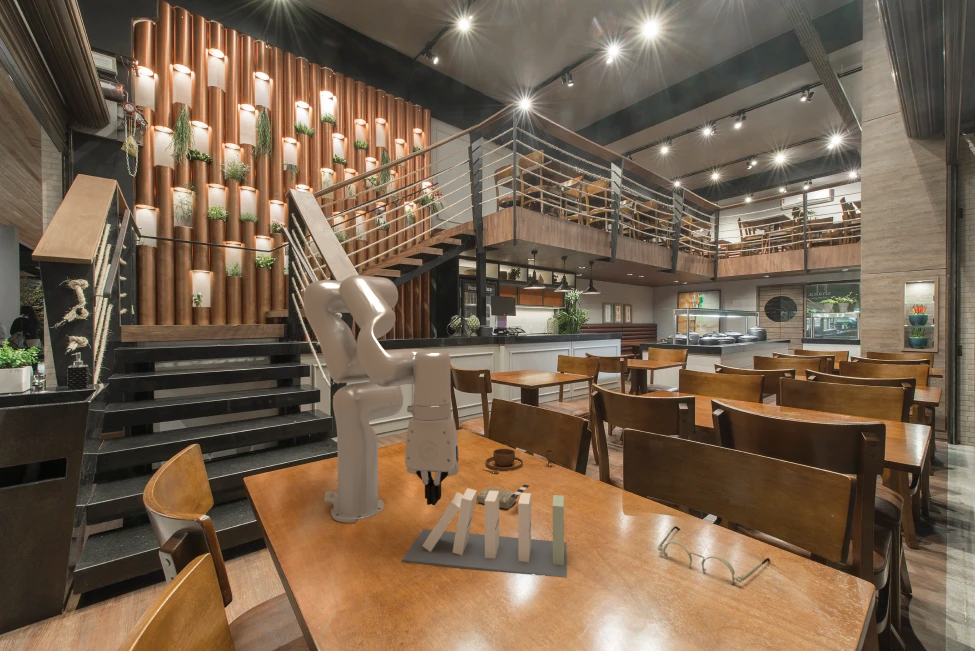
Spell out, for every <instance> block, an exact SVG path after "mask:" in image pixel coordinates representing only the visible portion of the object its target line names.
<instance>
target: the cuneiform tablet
mask: <svg viewBox="0 0 975 651" xmlns="http://www.w3.org/2000/svg"><path fill="white" fill-rule="evenodd" d="M529 487H530V485H529V484H523V485H522V486H520V487H519V489H517V490H516V491H513V490H512V491H511V490H508V489H501V488H498V487H497V488H495V487H492V486H487V487H486V488H485V489H484V490H481V491H480V492H479V493H478V494H476V502H477V503H480V504H483V505H485V499H486V497H487V494H488V492H489V491H499V509H500V508H502V509H505V510H507V509H510V508H511V507H512V506H513V505H514V504H515V503H516V500H517V499H518V497H520V495H521V493H524V492H525V490H527V489H528V488H529Z"/></svg>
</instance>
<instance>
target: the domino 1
mask: <svg viewBox="0 0 975 651" xmlns="http://www.w3.org/2000/svg"><path fill="white" fill-rule="evenodd" d="M463 495H464V494H462V493H460V492H459V491H457V492H456V493H455V495H454V496H453V498H452V500H451V501H450V503H449V504H448V506H447V507H446V509H445V511H444V512H443V513H442V514H441V516H440V518H439V520H438V521H437V523H436V524H435V525H434V527H433V529H431V530H432V532H431V533H430V535H429V536H428V538H427V539H426V541H425V543H424V544H423V547H424V548H426V549H427V550H428V551H430V552H431V551H432V549H433V548H434V546H435V545H436V543H437V542H438V540H439V539H440V537H441V535H442V534H443V532H444V531H446V529H448V526H449V525H450V523H451V522H452V520H453V519H454V517H455V516H456V514H457V513H458V512H459V511H460V505H461V499H462V497H463Z"/></svg>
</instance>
